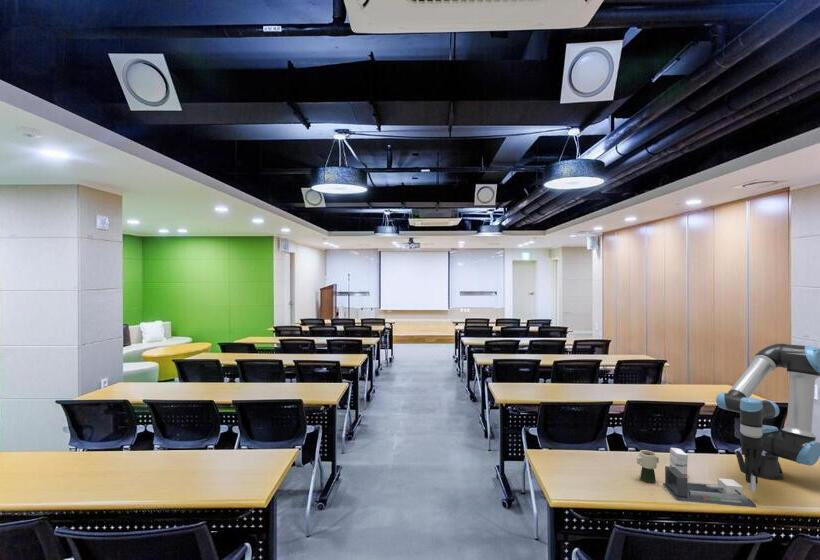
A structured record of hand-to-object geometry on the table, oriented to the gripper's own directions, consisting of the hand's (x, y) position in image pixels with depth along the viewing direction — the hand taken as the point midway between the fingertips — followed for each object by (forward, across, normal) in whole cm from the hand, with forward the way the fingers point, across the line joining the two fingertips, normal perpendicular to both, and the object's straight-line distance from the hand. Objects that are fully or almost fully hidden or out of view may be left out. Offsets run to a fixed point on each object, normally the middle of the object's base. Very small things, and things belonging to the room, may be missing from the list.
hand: (751, 490), depth 181 cm
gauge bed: (+4, +17, 0) cm, 18 cm away
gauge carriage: (+2, +11, +2) cm, 12 cm away
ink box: (+4, +20, -20) cm, 29 cm away
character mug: (+4, +37, -11) cm, 39 cm away
